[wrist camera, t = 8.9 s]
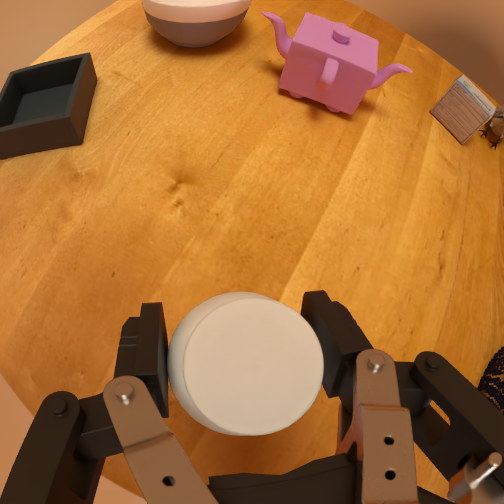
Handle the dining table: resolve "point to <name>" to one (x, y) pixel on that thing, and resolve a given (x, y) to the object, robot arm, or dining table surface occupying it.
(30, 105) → the tub
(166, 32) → the bowl
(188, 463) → the robot arm
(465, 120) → the medicine box
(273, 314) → the pill bottle
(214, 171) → the dining table surface
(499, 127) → the decorative bird
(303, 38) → the teapot
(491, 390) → the patterned openwork dome
